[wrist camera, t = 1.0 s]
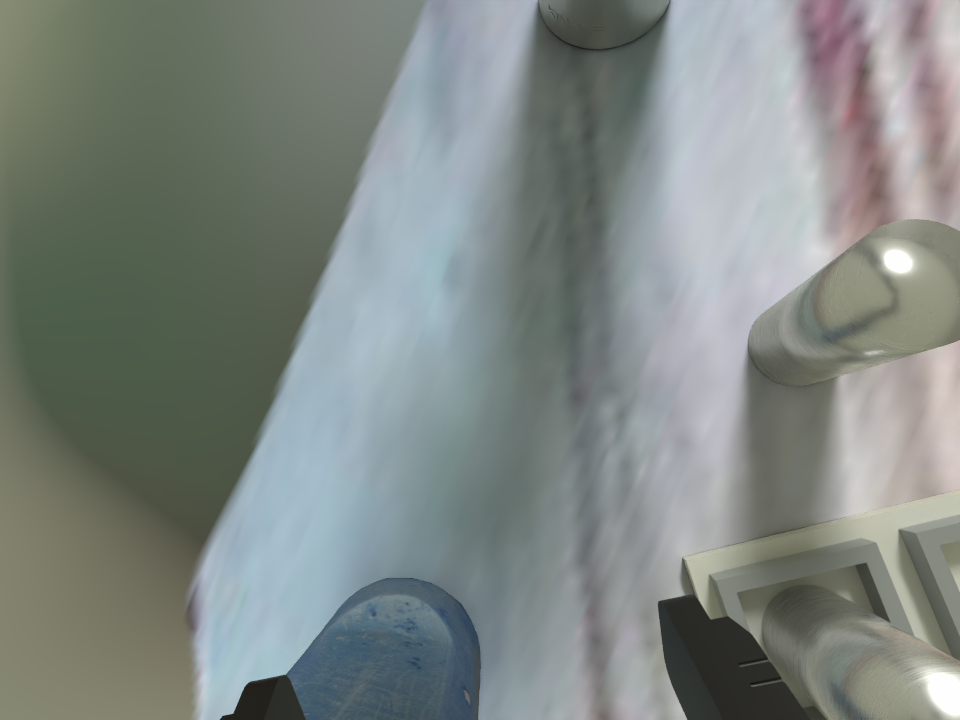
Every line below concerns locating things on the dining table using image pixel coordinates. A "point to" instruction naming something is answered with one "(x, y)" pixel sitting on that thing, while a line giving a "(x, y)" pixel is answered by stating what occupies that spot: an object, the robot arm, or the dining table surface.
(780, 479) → the dining table surface
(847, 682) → the cylinder
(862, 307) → the billet
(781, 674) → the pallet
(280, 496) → the dining table surface
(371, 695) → the bottle
